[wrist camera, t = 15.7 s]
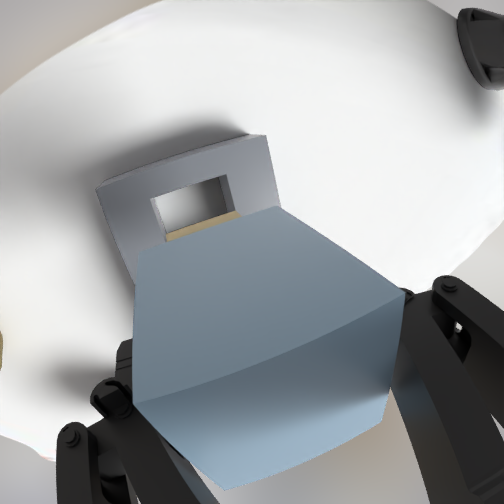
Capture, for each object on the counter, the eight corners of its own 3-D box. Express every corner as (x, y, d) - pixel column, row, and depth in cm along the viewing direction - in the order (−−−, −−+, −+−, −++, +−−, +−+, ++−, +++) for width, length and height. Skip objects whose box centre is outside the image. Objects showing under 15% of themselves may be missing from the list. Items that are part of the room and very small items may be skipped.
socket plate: (104, 180, 22) (95, 189, 18) (249, 134, 24) (265, 135, 21) (174, 341, 30) (178, 366, 26) (285, 301, 32) (301, 321, 29)
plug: (248, 188, 16) (405, 292, 6) (269, 279, 18) (381, 421, 8) (142, 223, 15) (133, 404, 5) (179, 312, 17) (224, 490, 7)
